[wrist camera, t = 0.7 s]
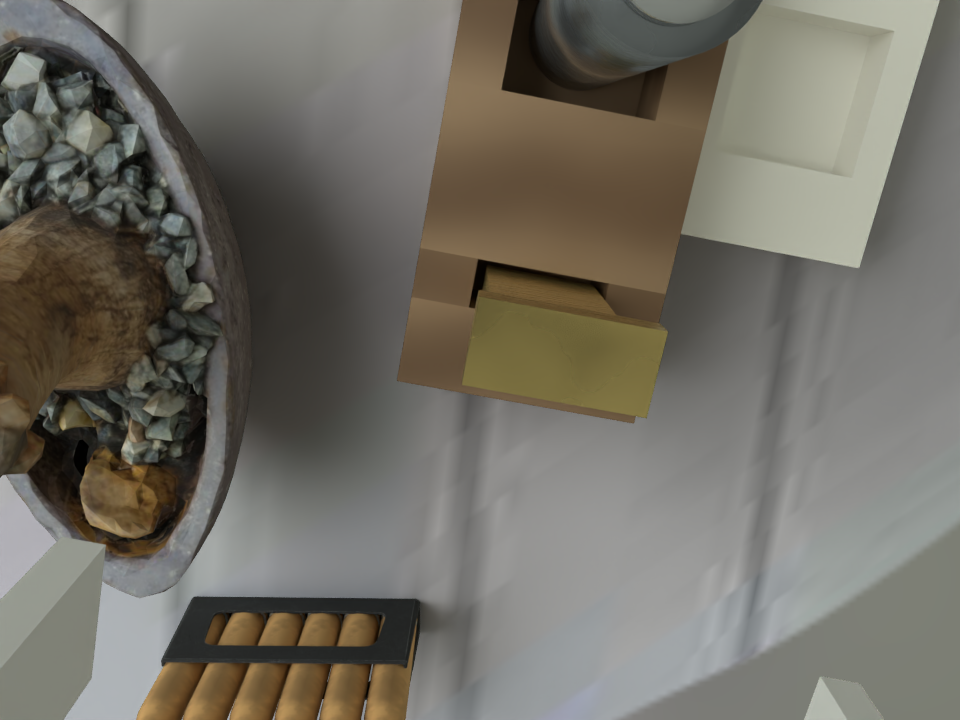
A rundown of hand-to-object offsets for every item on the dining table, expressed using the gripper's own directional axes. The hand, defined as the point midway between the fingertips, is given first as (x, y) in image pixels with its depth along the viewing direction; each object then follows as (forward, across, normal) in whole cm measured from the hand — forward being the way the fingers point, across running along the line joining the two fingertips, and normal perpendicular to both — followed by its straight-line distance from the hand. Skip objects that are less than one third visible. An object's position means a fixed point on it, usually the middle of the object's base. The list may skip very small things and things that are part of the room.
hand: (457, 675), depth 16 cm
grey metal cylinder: (+22, +2, +13) cm, 25 cm away
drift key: (+18, +2, +4) cm, 19 cm away
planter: (+24, -13, 0) cm, 27 cm away
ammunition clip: (+23, -5, -14) cm, 28 cm away
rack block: (+24, +10, +13) cm, 29 cm away
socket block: (+23, +2, +9) cm, 25 cm away
